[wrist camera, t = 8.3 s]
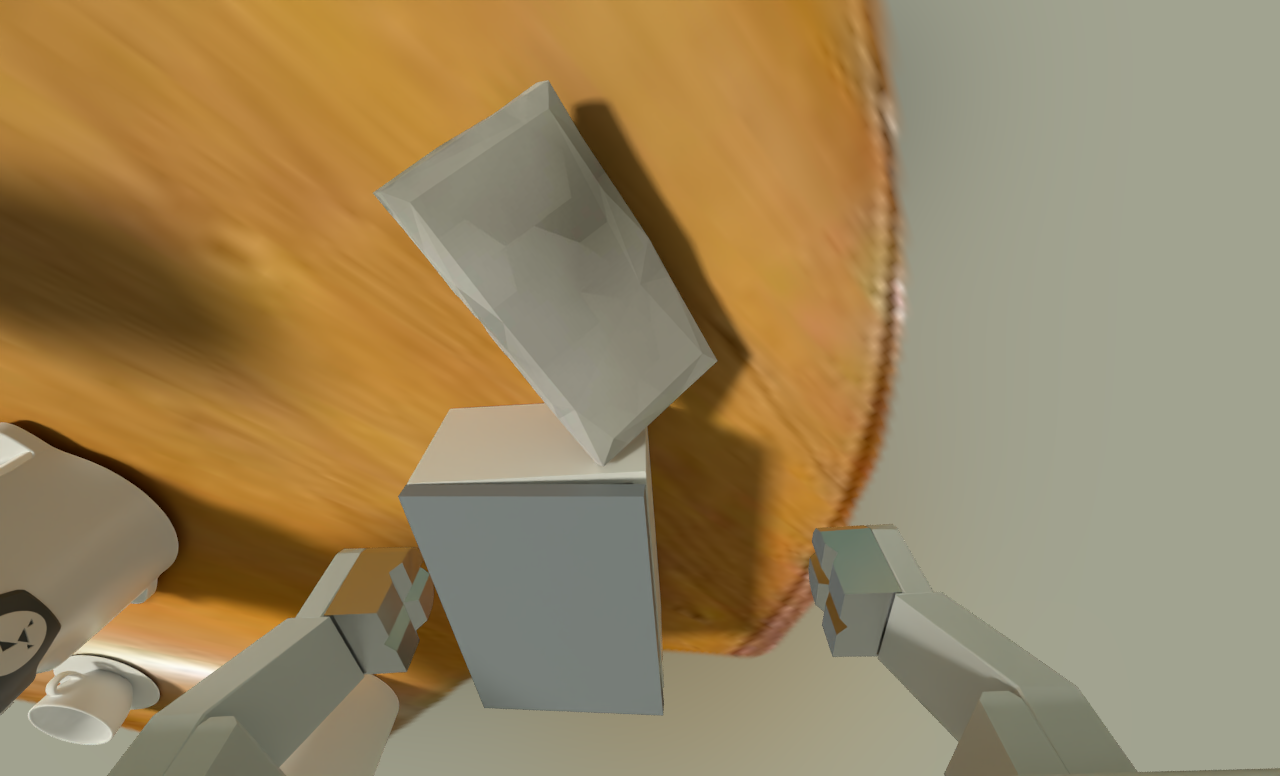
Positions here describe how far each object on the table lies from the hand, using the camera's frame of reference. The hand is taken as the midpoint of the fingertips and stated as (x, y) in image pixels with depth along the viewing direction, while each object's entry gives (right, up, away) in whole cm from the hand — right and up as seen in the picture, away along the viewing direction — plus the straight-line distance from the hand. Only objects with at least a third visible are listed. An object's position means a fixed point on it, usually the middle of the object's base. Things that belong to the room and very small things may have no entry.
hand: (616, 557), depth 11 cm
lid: (-5, -11, +25) cm, 28 cm away
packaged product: (0, +12, +20) cm, 23 cm away
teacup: (-56, -27, +45) cm, 76 cm away
